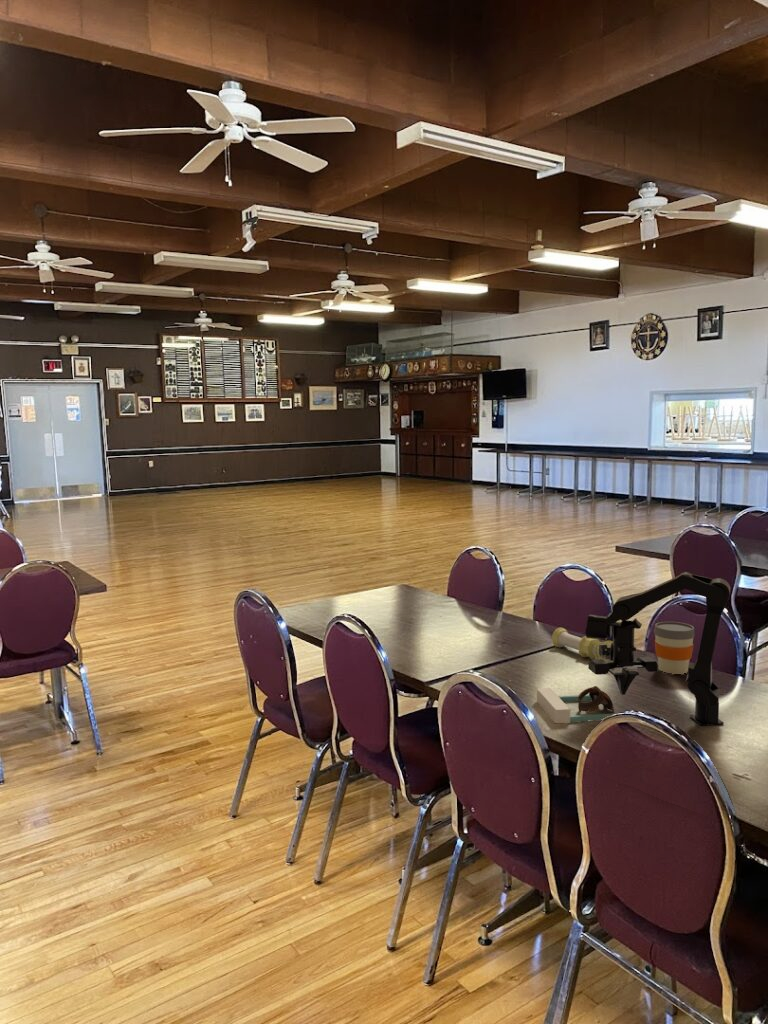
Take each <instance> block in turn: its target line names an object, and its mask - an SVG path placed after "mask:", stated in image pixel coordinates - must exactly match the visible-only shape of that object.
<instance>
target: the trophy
mask: <svg viewBox="0 0 768 1024" xmlns="http://www.w3.org/2000/svg"><path fill="white" fill-rule="evenodd" d="M551 641H552V642H551V643H552V644H553V646H554V647H555V648H558V647H559V648H563V647H567V648H571V649H573V650H577V651H578V654H579V655H580V656H581V657H582V658H583V657H585V658H588V657H589V659H590V660H593V659H603V660H604V661H605V662H606V663H609V662H613V661H610V660H609V659H606V658H605V656H600V655H599V645H607V647H608V648H610V647H611V643H613V640H604V641H600V639H592V638H586V635H585V636H582V637H579V636H577V635H574V634H570V633H569V632H568V630H567V629H566V628H564V627H558V628H556V629H555V630H554V631H553V633H552V635H551ZM618 666H619V665H618Z"/></svg>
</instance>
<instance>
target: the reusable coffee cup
mask: <svg viewBox="0 0 768 1024" xmlns="http://www.w3.org/2000/svg"><path fill="white" fill-rule="evenodd" d="M653 634H654V636H655V637H654V638H655V640H654V649H655V655H656V656H657V663H658V671H660V670H661V671H663V672H662V673H664V672H667V673H672V674H671V675H674V674H681V675H685V674H684V673H686V674H688V668H689V664H690V659H692V655H693V650H694V643H693V642H694V641H693V640H694V638H695V636H696V635H695V634H696V633H695V627H694V626H693V625H691V624H689V623H685V622H679V621H661V622H656V623H655V625H654V631H653ZM661 671H660V672H661ZM667 673H666V674H667Z"/></svg>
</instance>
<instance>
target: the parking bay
mask: <svg viewBox="0 0 768 1024" xmlns="http://www.w3.org/2000/svg"><path fill="white" fill-rule="evenodd" d="M578 696H579V694H574V695H557V693H555V691H554V690H553V689H552V688H551V687H541V688H536V702H537V704H538V705H539V706H540V707H541V708H542V709H543V711H544V712H545V714H547V716H548V717H549V718H550V719H551V720H552V721H553V723H554V724H555V723H565V724H570V723H575V722H574V721H588V720H601V719H603V718H605V717H607V716H610V715H612V713H598V714H596V713H595V714H582V715H580V714H579V715H578V714H575V715H571V709H570V706H569V707H568V705H567V704H566V703H569V702H578V700H579V698H578ZM588 700H592V699H591V697H590V696H589V694H587V695H585V696H584V697H583V698H582V700H581V701H582V702H589V701H588ZM613 714H615V713H613ZM588 722H589V721H588Z"/></svg>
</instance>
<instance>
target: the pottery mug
mask: <svg viewBox="0 0 768 1024" xmlns="http://www.w3.org/2000/svg"><path fill="white" fill-rule="evenodd" d="M578 695H579V696H578V698H579V700H578V701H577V702H578V703H577V704H578V705H577V706H578V711H579V713H581V712H585V713H588V712H592V711H598V712H600V705H602V706H603V710H610V711H611V714H613V713H615V707H614V704H613V700H612V699H611V697H610V695H608V694H607V693H606V692H605V691H603V690H601V688H599V687H598V686H596V685H595V686H591V687H588V688H585V689H583V691H581V692H580V693H579V694H578ZM585 695H589V696H590V697H591V699H592V701H581V700H582V698H583V697H584V696H585Z"/></svg>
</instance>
